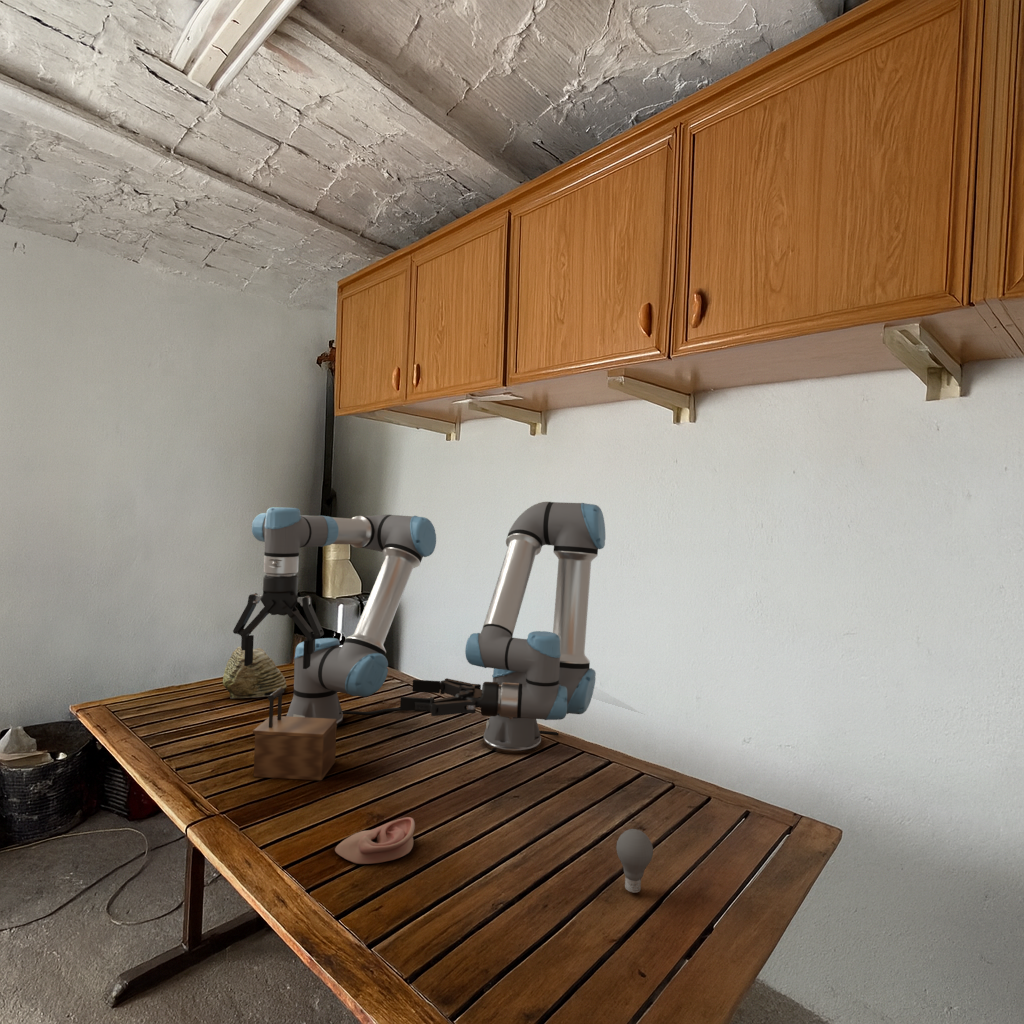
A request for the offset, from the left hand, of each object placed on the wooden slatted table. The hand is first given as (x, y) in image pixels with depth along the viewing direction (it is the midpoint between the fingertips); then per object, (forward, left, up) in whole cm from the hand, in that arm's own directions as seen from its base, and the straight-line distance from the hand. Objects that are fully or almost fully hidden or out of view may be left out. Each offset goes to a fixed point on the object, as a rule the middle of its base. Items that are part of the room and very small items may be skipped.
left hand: (277, 666), depth 146 cm
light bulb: (-15, +84, -24) cm, 89 cm away
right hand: (-18, +24, -5) cm, 31 cm away
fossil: (-24, -52, -24) cm, 62 cm away
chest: (-3, +4, -24) cm, 24 cm away
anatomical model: (+6, +43, -24) cm, 50 cm away
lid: (-3, +4, -14) cm, 15 cm away
